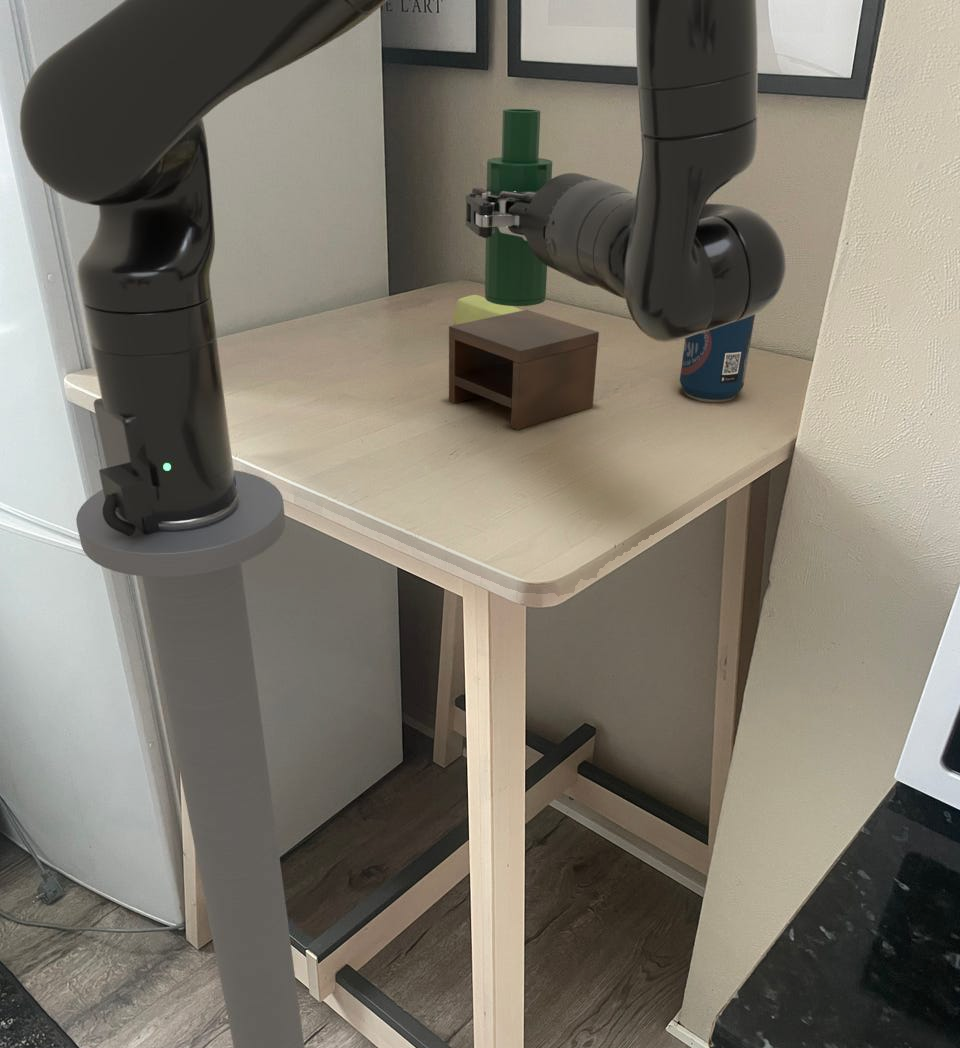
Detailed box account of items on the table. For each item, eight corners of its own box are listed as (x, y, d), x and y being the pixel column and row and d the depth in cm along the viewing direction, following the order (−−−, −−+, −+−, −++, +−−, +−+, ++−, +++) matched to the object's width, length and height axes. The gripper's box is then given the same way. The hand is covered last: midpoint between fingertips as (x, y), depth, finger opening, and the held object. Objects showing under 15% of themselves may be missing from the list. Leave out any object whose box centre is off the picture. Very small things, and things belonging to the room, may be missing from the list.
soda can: (667, 386, 111) (681, 276, 105) (721, 381, 113) (738, 273, 107) (697, 407, 106) (713, 292, 99) (753, 401, 108) (773, 288, 101)
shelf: (517, 430, 99) (520, 351, 95) (448, 400, 106) (448, 326, 102) (593, 407, 105) (599, 331, 101) (523, 381, 112) (526, 309, 108)
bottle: (512, 309, 91) (519, 114, 82) (472, 297, 95) (474, 109, 86) (557, 300, 94) (568, 111, 85) (517, 288, 98) (523, 106, 89)
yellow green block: (484, 301, 113) (448, 283, 130) (472, 350, 115) (438, 325, 132) (591, 328, 117) (542, 306, 135) (578, 374, 119) (532, 347, 137)
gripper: (673, 176, 79) (578, 151, 92) (509, 183, 74) (434, 156, 87) (662, 274, 83) (573, 237, 96) (506, 286, 78) (435, 245, 91)
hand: (507, 198), depth 92 cm, fingers closed on bottle, 6 cm apart
